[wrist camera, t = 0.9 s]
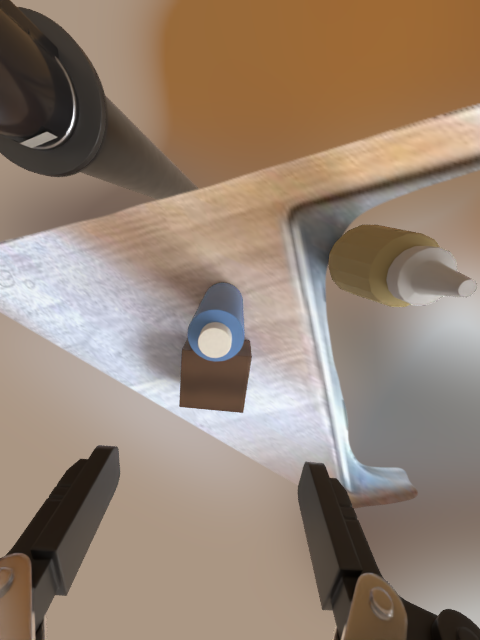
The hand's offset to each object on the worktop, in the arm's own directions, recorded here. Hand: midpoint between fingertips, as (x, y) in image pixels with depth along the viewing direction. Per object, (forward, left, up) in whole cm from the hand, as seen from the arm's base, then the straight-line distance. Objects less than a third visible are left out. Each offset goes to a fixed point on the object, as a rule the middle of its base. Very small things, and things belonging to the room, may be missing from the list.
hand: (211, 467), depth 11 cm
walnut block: (+10, -1, -26) cm, 28 cm away
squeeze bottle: (-8, +15, -26) cm, 31 cm away
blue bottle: (0, -1, -26) cm, 26 cm away
